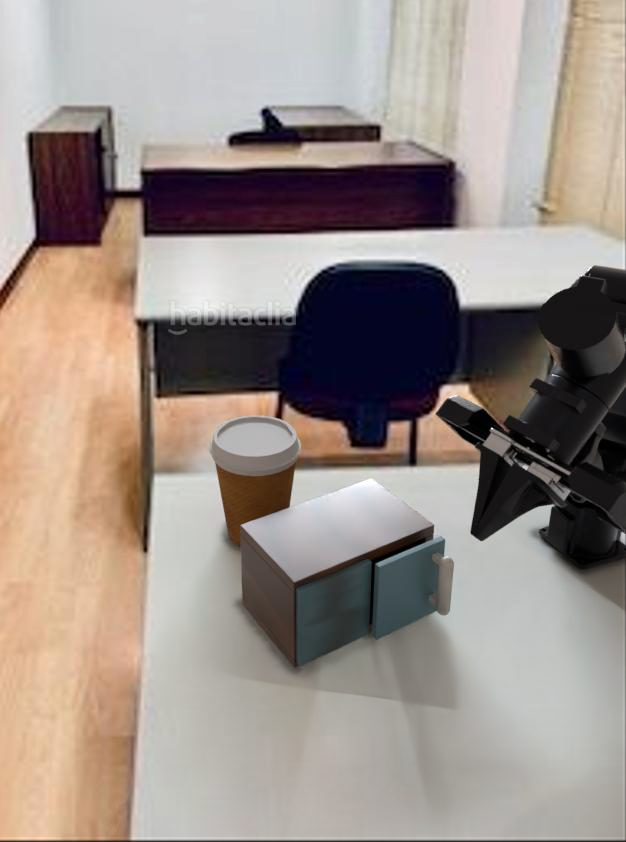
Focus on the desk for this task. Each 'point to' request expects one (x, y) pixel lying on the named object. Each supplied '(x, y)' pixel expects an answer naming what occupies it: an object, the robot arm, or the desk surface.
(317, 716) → the desk surface
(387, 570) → the sliding door
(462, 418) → the robot arm
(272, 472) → the disposable coffee cup
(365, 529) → the cabinet
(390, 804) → the desk surface
